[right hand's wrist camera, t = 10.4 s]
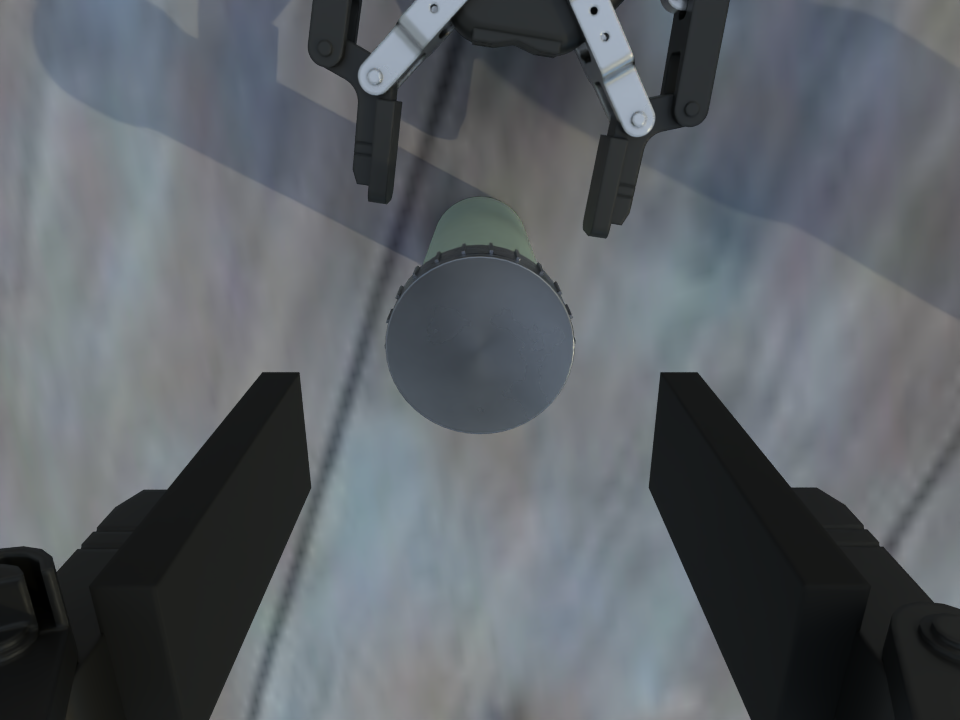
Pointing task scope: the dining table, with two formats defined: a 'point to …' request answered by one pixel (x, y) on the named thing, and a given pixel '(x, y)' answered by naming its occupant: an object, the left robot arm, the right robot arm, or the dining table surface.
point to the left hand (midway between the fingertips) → (488, 217)
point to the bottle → (480, 227)
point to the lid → (479, 339)
